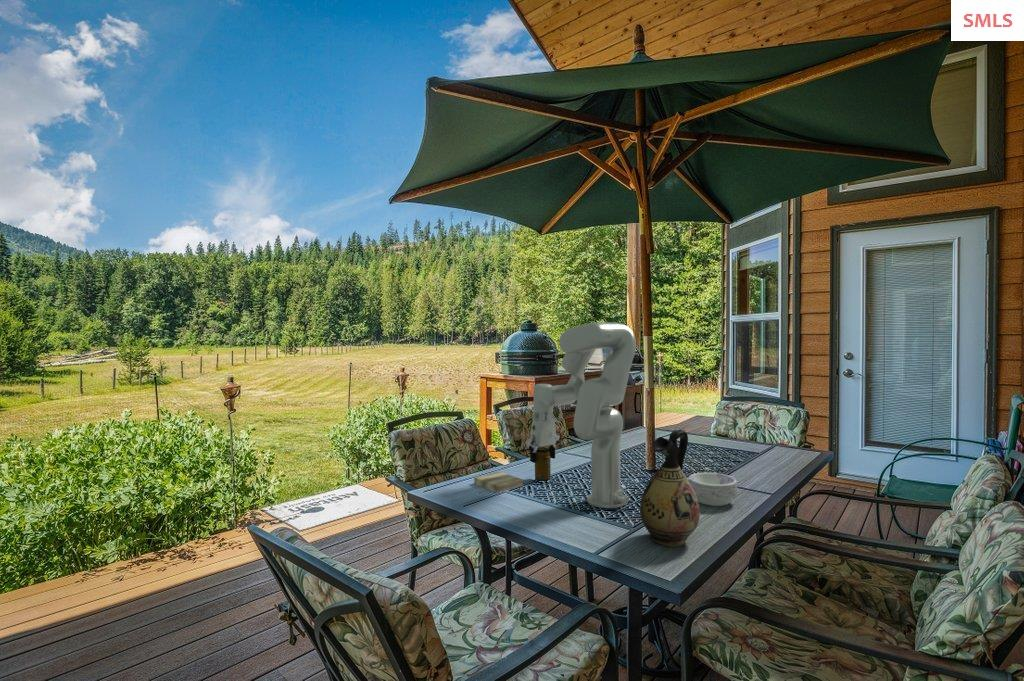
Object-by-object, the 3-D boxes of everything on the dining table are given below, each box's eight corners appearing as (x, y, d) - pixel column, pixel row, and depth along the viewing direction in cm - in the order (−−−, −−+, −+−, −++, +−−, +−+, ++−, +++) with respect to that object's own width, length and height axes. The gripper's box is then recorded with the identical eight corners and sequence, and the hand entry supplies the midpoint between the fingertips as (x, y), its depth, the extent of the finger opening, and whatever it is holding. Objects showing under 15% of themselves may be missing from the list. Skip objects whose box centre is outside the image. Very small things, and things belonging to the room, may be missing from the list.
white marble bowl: (678, 497, 170) (678, 474, 170) (713, 492, 175) (713, 469, 175) (711, 512, 156) (710, 487, 156) (748, 506, 161) (748, 481, 161)
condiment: (543, 476, 197) (543, 446, 197) (558, 480, 191) (558, 449, 191) (529, 479, 193) (529, 448, 193) (544, 484, 186) (544, 452, 186)
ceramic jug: (676, 558, 125) (675, 438, 124) (628, 538, 137) (627, 429, 137) (715, 541, 134) (714, 430, 134) (667, 523, 147) (666, 422, 147)
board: (522, 485, 185) (522, 479, 185) (497, 492, 177) (497, 485, 177) (499, 477, 196) (499, 471, 195) (474, 483, 188) (474, 477, 188)
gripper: (533, 420, 183) (532, 466, 184) (565, 414, 194) (565, 458, 195) (519, 417, 189) (519, 461, 190) (552, 412, 200) (551, 454, 201)
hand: (542, 460), depth 192 cm, fingers open, 9 cm apart
